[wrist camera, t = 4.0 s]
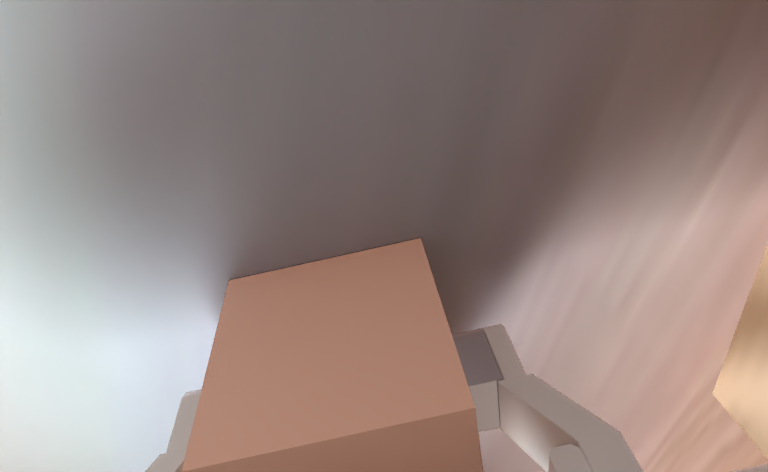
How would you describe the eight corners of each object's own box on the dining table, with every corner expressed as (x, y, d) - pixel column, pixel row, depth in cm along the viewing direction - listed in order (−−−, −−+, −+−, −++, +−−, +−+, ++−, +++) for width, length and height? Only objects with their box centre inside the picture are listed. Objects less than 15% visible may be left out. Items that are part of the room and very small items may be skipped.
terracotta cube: (228, 280, 12) (181, 471, 8) (420, 237, 12) (475, 407, 8) (287, 398, 15) (275, 584, 11) (442, 365, 15) (491, 538, 11)
